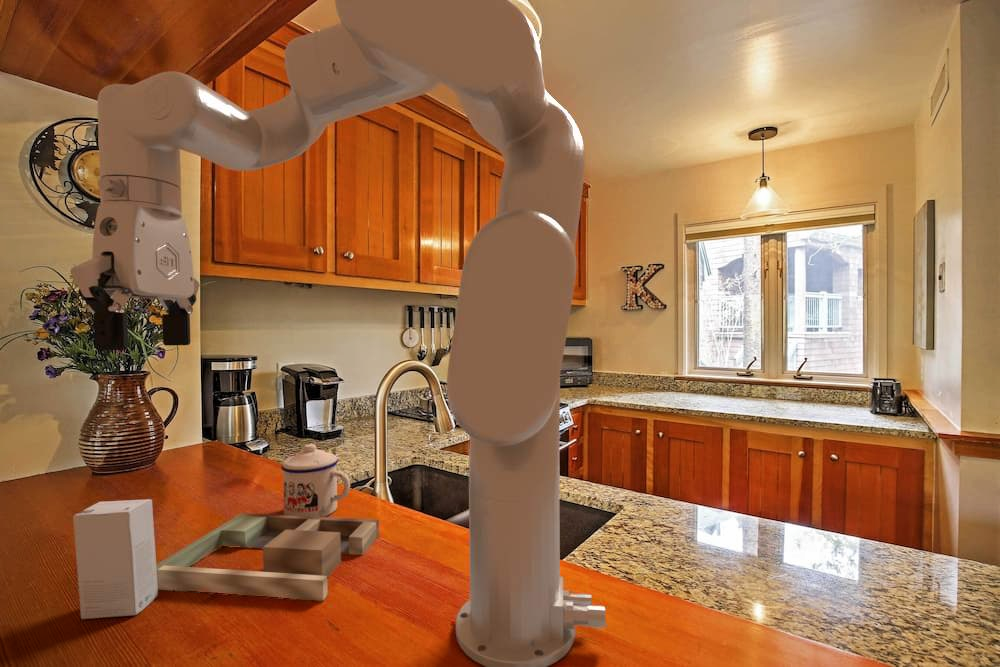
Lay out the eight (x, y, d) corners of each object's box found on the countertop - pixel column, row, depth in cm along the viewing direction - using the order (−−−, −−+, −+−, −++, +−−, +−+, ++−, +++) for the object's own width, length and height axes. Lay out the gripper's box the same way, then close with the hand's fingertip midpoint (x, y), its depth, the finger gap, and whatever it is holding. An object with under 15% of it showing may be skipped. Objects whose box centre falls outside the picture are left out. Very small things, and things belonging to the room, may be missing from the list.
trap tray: (379, 535, 72) (378, 519, 72) (323, 601, 55) (322, 580, 55) (241, 528, 75) (241, 513, 75) (149, 588, 58) (148, 569, 58)
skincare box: (159, 595, 57) (157, 496, 56) (134, 618, 52) (131, 511, 52) (105, 598, 56) (102, 499, 56) (74, 622, 52) (71, 514, 51)
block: (340, 564, 64) (340, 532, 64) (322, 585, 59) (321, 550, 59) (286, 561, 65) (285, 529, 65) (263, 581, 60) (262, 547, 60)
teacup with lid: (270, 520, 78) (268, 451, 78) (304, 499, 87) (302, 437, 87) (335, 526, 75) (333, 454, 75) (363, 504, 84) (362, 440, 84)
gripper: (110, 177, 46) (115, 352, 46) (220, 217, 63) (223, 343, 64) (35, 179, 46) (42, 352, 46) (166, 218, 63) (169, 344, 64)
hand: (147, 347), depth 55 cm, fingers open, 9 cm apart
